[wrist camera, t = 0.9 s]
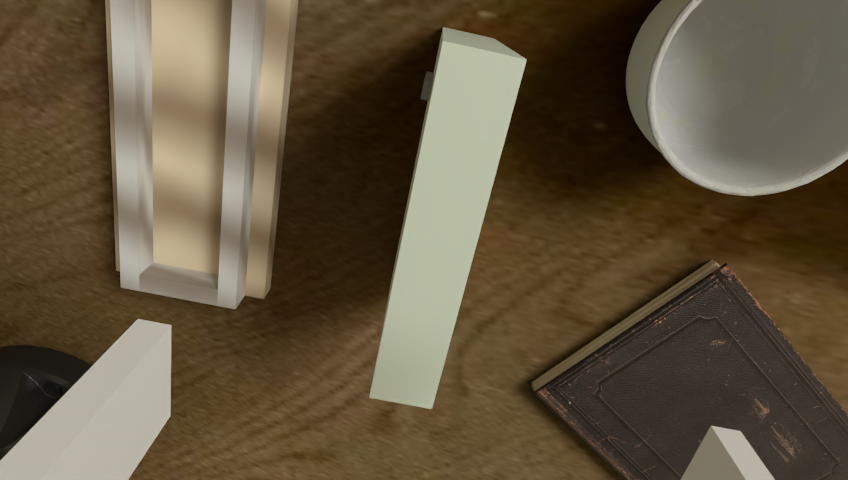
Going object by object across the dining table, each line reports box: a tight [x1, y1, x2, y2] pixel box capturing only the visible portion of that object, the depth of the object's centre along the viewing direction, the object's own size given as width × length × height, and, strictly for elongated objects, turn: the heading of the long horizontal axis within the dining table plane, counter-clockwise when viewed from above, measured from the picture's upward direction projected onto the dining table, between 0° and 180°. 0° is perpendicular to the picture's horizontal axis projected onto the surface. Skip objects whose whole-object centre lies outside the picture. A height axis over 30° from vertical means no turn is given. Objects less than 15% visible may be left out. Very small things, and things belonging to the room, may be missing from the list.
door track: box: [105, 0, 298, 309], centre depth 31 cm, size 22×10×3 cm, turn 168°
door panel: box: [369, 27, 527, 409], centre depth 27 cm, size 16×3×13 cm, turn 168°
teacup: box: [626, 0, 848, 196], centre depth 26 cm, size 14×11×8 cm
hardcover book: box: [529, 260, 848, 480], centre depth 40 cm, size 16×23×2 cm
